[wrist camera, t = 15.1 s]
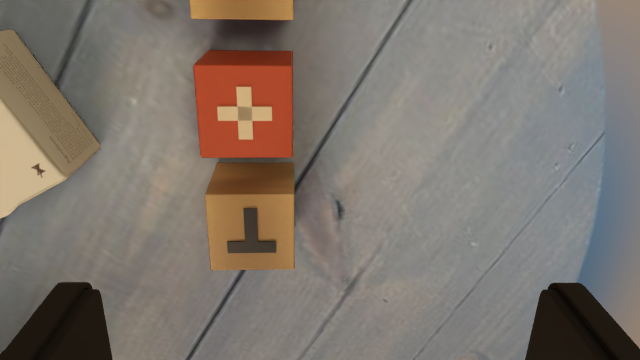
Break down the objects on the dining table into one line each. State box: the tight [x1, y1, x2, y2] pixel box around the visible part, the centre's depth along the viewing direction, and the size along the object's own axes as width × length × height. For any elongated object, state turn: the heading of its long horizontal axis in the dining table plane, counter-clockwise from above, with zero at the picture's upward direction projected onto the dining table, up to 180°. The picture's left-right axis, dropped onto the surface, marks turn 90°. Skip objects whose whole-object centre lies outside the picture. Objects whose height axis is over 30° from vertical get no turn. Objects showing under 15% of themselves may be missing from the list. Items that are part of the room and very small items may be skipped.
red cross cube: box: [193, 50, 293, 158], centre depth 26 cm, size 5×5×5 cm
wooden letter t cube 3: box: [205, 163, 295, 270], centre depth 29 cm, size 5×5×5 cm
